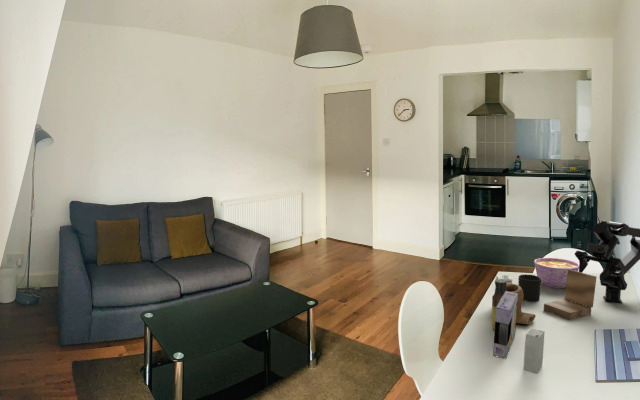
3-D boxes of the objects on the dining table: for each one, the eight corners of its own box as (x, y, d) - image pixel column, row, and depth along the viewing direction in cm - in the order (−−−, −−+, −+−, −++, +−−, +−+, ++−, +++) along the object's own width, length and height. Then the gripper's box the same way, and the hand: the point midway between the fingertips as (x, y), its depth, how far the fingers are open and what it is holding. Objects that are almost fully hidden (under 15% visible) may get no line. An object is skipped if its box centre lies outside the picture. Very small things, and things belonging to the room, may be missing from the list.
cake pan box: (507, 361, 147) (509, 309, 145) (491, 357, 150) (492, 306, 147) (516, 339, 163) (518, 292, 161) (501, 336, 166) (503, 290, 164)
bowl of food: (527, 279, 233) (528, 257, 232) (568, 280, 230) (569, 258, 229) (541, 291, 214) (542, 268, 212) (585, 292, 211) (587, 269, 209)
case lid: (564, 298, 195) (566, 298, 196) (591, 307, 184) (593, 307, 185) (568, 269, 194) (570, 269, 195) (595, 276, 183) (597, 276, 184)
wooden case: (564, 305, 195) (564, 298, 195) (590, 314, 185) (591, 307, 184) (543, 310, 190) (543, 303, 190) (569, 320, 179) (570, 313, 179)
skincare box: (528, 362, 146) (529, 327, 144) (543, 366, 143) (545, 330, 141) (522, 370, 141) (524, 333, 139) (538, 374, 138) (539, 337, 137)
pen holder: (544, 299, 203) (545, 278, 202) (533, 303, 198) (534, 281, 197) (524, 293, 211) (525, 273, 210) (513, 298, 206) (514, 276, 204)
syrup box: (512, 312, 188) (513, 279, 186) (497, 311, 189) (498, 278, 187) (509, 307, 194) (510, 275, 192) (494, 307, 195) (495, 274, 193)
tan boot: (489, 322, 178) (490, 286, 176) (496, 313, 188) (497, 278, 186) (531, 330, 170) (532, 292, 168) (535, 320, 180) (537, 284, 178)
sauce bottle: (509, 329, 172) (510, 279, 169) (510, 335, 166) (512, 284, 163) (490, 327, 174) (492, 277, 171) (491, 333, 168) (493, 282, 166)
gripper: (577, 232, 199) (560, 260, 195) (621, 240, 182) (604, 271, 179) (588, 246, 203) (572, 274, 200) (632, 255, 187) (615, 286, 183)
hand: (589, 276), depth 190 cm, fingers open, 9 cm apart
